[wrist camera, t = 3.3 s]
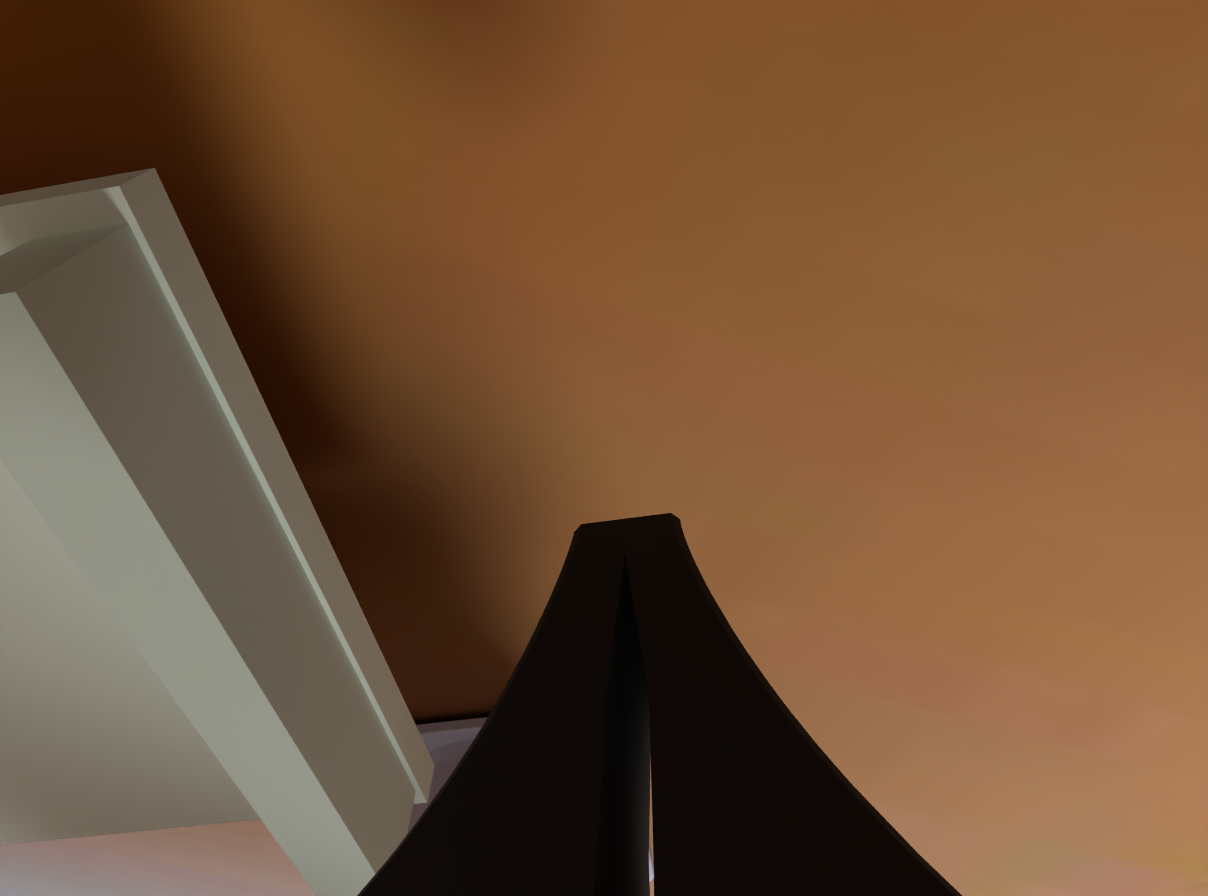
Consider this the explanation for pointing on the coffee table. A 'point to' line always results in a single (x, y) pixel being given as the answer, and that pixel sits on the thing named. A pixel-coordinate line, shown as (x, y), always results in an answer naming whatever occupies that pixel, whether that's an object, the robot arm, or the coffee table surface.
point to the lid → (170, 565)
